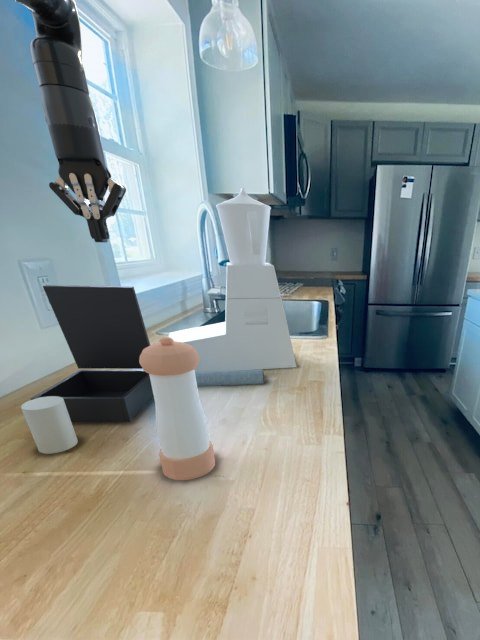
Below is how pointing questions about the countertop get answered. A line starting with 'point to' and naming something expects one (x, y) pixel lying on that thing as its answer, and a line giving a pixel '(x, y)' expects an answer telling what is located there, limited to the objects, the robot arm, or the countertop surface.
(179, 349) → the salt shaker
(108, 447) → the countertop surface
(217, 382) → the grey folded cloth
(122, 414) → the black hinged box
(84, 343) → the lid
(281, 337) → the blender
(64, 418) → the container
